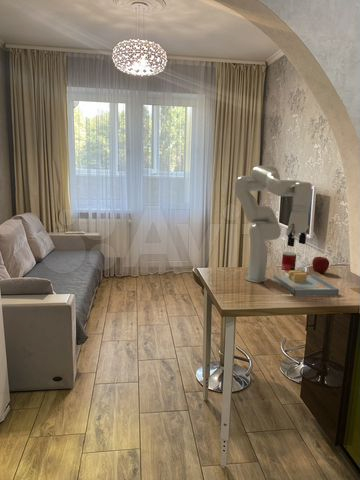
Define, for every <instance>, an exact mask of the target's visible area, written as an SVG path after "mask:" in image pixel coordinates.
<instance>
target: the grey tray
mask: <svg viewBox="0 0 360 480" xmlns="http://www.w3.org/2000/svg"><path fill="white" fill-rule="evenodd" d="M272 277H273V279H274V280H275V281H277V282H278V283H279V284H280V285H282V286H283V287H284V288H286V289H288V290H289V291H290V292H291V293H290V294H291V295H292V296H294V297H313V296H314V297H315V296H316V297H318V296H319V297H320V296H339V293H340V290H339V288H337V287H335V286H334V285H332V284H330V282H329V283H328V282H327V281H325V280H324V279H322V278H320V277H318V276H316V275H315V274H314V273H311V276H307V279H306V282H293V281H291V280H290V279H289V278H288V277H279V276H277V274H273V276H272ZM318 283H319V284H321V285H323V286H324V287H325V288H322V287H319V286H318V285H316V284H318ZM290 284H291V285H293V286H291V285H290ZM294 287H295V288H294Z"/></svg>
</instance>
